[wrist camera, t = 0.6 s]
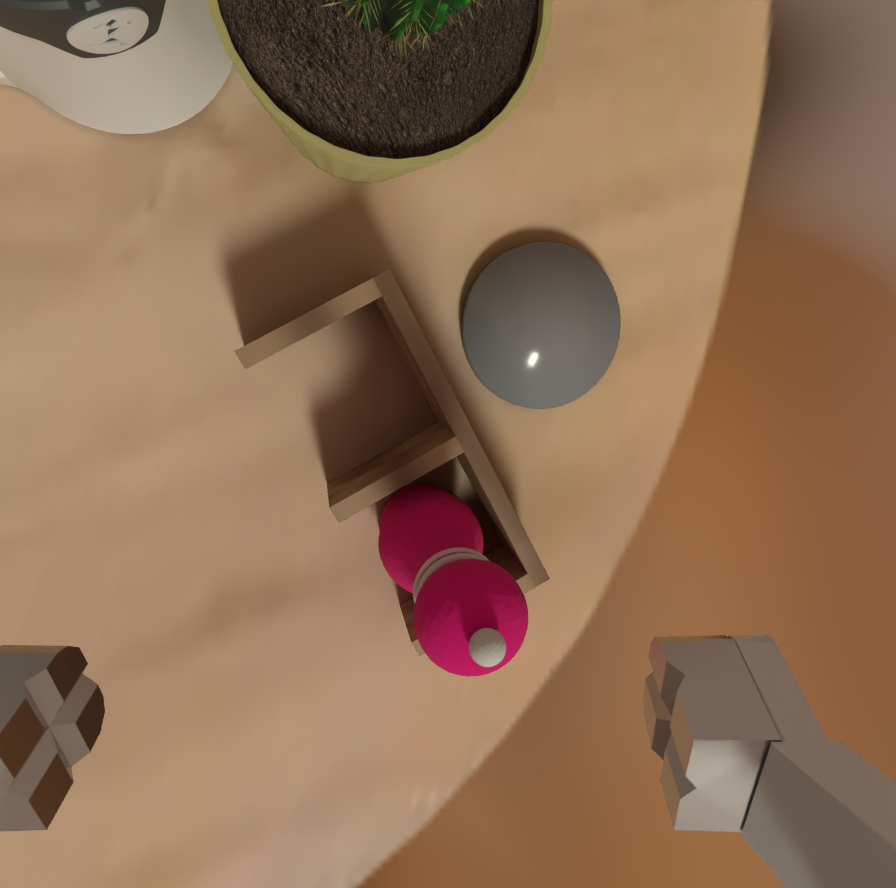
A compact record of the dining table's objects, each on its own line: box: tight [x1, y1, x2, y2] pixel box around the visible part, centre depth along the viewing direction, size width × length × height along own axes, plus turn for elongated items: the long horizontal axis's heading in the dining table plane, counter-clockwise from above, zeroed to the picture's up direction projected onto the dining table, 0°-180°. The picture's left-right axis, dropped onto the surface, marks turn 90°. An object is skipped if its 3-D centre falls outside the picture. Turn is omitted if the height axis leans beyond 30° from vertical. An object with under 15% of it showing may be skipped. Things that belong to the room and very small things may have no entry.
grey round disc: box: [461, 241, 620, 409], centre depth 47 cm, size 12×12×1 cm
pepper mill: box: [379, 484, 528, 676], centre depth 39 cm, size 7×7×20 cm
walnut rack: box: [235, 269, 550, 656], centre depth 45 cm, size 10×24×6 cm, turn 27°
